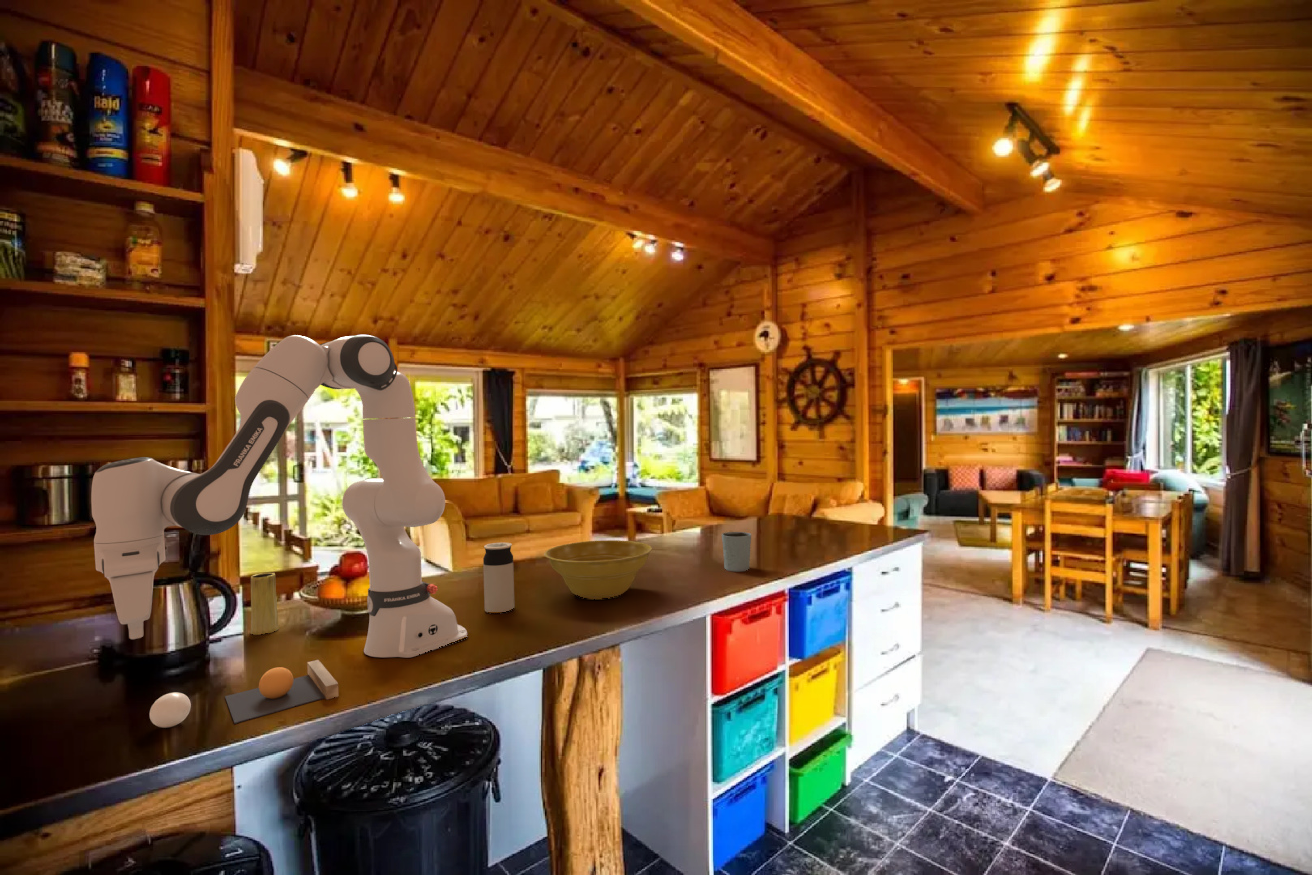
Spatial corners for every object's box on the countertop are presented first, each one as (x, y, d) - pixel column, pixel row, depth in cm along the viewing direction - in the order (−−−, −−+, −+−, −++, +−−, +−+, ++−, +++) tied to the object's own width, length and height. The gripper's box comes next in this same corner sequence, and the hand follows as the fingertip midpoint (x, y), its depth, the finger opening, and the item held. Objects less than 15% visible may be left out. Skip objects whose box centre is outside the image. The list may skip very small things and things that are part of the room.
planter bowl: (545, 583, 191) (544, 542, 191) (644, 577, 197) (643, 536, 197) (545, 614, 159) (543, 564, 159) (662, 605, 165) (661, 557, 165)
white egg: (144, 698, 102) (154, 727, 103) (145, 708, 98) (155, 738, 99) (184, 682, 106) (193, 710, 106) (186, 692, 101) (196, 721, 102)
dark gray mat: (308, 675, 122) (308, 674, 122) (325, 697, 112) (325, 696, 112) (225, 697, 113) (225, 696, 113) (234, 723, 102) (234, 722, 102)
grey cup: (719, 571, 203) (718, 536, 202) (725, 564, 212) (725, 530, 212) (749, 572, 199) (748, 537, 199) (754, 565, 209) (753, 531, 209)
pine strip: (318, 671, 124) (318, 659, 124) (338, 696, 112) (338, 683, 112) (307, 674, 123) (307, 662, 123) (326, 699, 111) (326, 686, 111)
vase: (269, 634, 148) (267, 577, 147) (244, 635, 148) (242, 578, 147) (284, 626, 154) (282, 571, 154) (260, 627, 154) (258, 572, 154)
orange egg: (268, 659, 114) (250, 688, 112) (273, 668, 110) (254, 698, 108) (296, 668, 117) (279, 696, 115) (302, 676, 113) (284, 706, 111)
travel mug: (499, 616, 159) (497, 548, 158) (478, 611, 163) (476, 546, 163) (520, 607, 166) (518, 543, 165) (500, 604, 170) (498, 541, 169)
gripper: (107, 549, 105) (112, 626, 106) (103, 569, 90) (109, 658, 91) (153, 543, 110) (158, 617, 110) (157, 561, 94) (163, 647, 95)
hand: (136, 636), depth 100 cm, fingers closed
